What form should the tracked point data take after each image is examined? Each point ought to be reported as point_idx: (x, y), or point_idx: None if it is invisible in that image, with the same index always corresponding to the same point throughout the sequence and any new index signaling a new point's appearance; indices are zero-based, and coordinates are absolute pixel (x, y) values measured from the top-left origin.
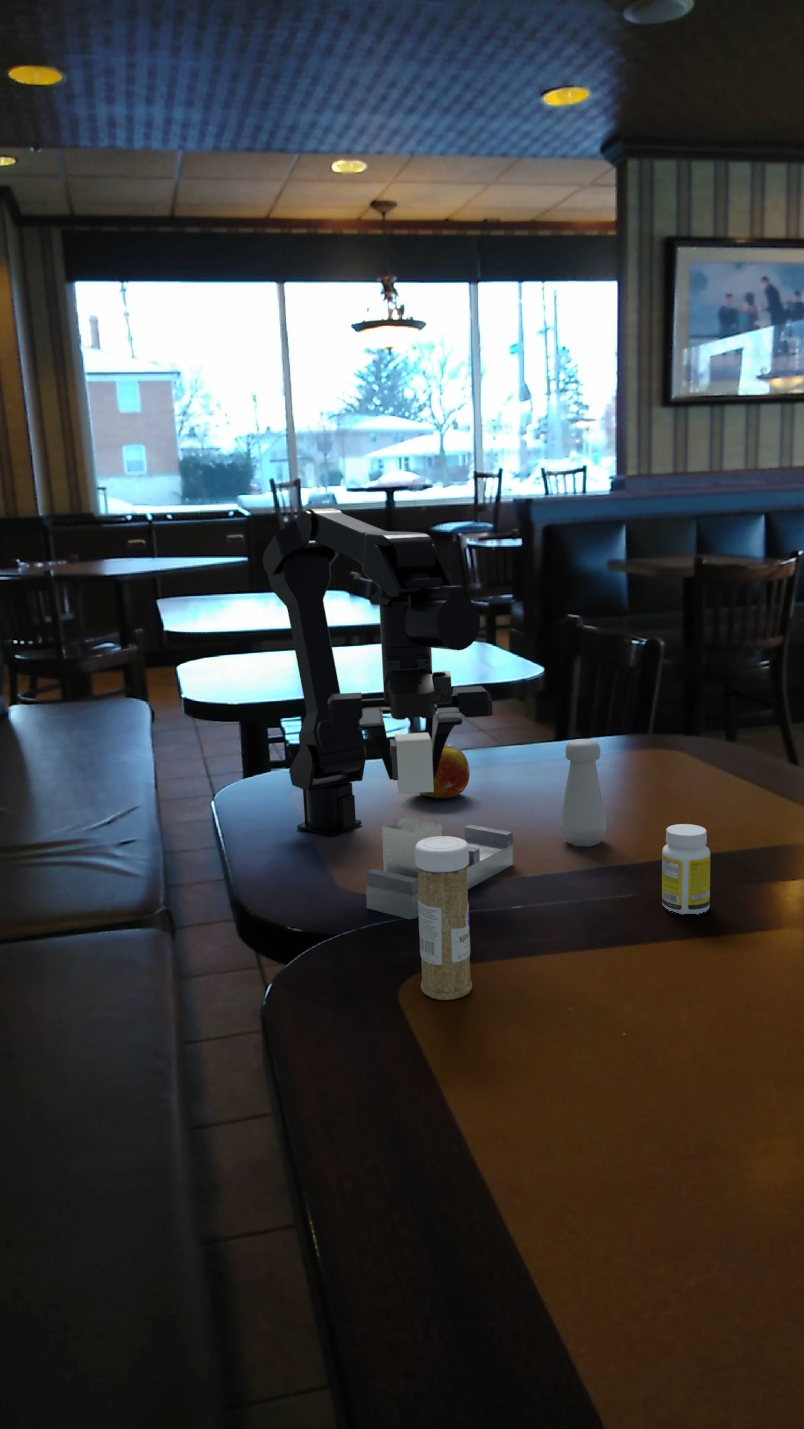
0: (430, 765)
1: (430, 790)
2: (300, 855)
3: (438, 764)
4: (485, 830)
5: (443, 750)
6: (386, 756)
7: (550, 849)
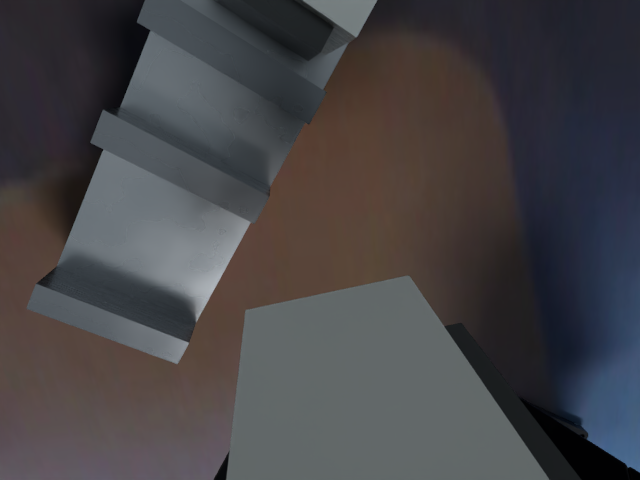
0: (248, 409)
1: (260, 310)
2: (580, 291)
3: (216, 474)
4: (117, 318)
5: None
6: (572, 457)
7: (11, 368)
